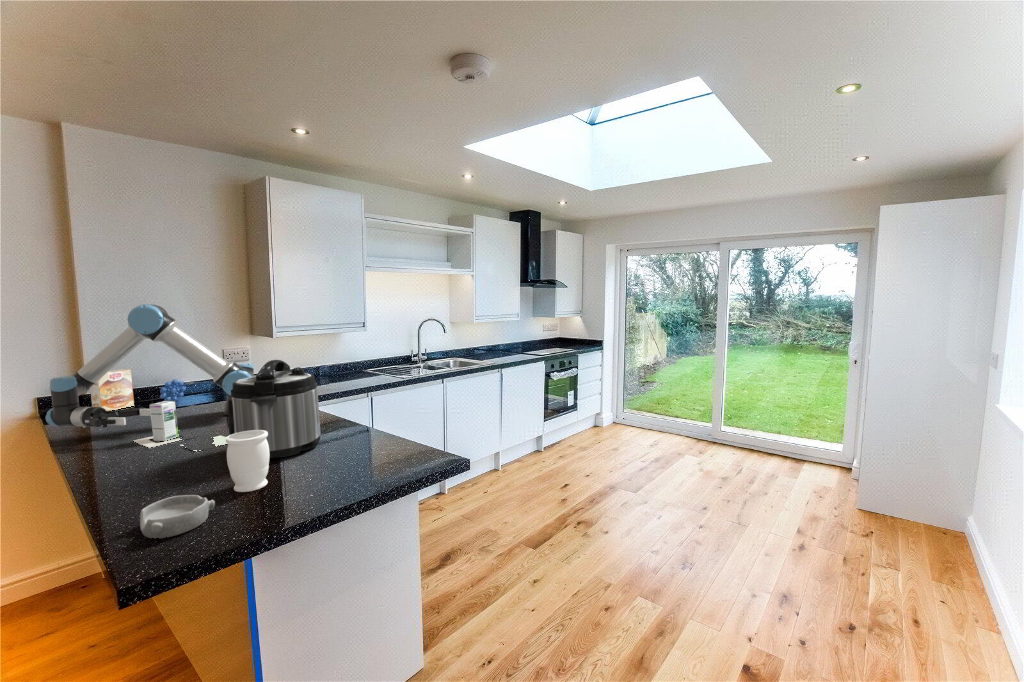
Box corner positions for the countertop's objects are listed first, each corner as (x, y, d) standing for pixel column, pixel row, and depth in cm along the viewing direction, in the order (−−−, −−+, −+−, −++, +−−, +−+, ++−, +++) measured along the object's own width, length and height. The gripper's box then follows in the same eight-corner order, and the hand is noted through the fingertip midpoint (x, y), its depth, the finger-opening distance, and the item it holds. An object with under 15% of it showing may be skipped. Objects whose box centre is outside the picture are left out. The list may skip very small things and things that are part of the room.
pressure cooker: (284, 433, 184) (278, 354, 181) (340, 440, 173) (335, 355, 170) (210, 459, 156) (202, 365, 153) (272, 468, 146) (265, 368, 143)
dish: (160, 546, 100) (158, 524, 100) (124, 534, 106) (122, 513, 106) (226, 517, 113) (224, 497, 113) (190, 507, 119) (189, 488, 119)
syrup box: (165, 441, 177) (162, 404, 175) (152, 441, 178) (149, 403, 176) (179, 437, 182) (175, 400, 181) (166, 436, 183) (163, 400, 182)
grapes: (185, 398, 257) (183, 377, 256) (187, 400, 252) (185, 378, 251) (159, 402, 249) (157, 380, 248) (161, 404, 244) (159, 381, 243)
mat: (220, 436, 182) (220, 435, 182) (238, 441, 174) (238, 440, 174) (179, 446, 171) (179, 445, 171) (196, 452, 163) (196, 451, 163)
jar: (241, 480, 136) (237, 430, 135) (277, 478, 137) (274, 428, 136) (221, 495, 126) (217, 441, 124) (261, 493, 127) (257, 439, 125)
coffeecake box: (101, 413, 226) (97, 374, 224) (92, 413, 228) (87, 373, 226) (135, 406, 240) (131, 369, 238) (125, 406, 242) (122, 368, 240)
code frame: (181, 431, 191) (181, 430, 191) (198, 437, 182) (198, 435, 182) (133, 441, 178) (132, 440, 178) (149, 448, 169) (148, 447, 169)
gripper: (120, 417, 194) (167, 417, 193) (57, 435, 170) (111, 435, 168) (118, 400, 194) (166, 399, 192) (55, 415, 169) (109, 415, 167)
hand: (140, 416), depth 180 cm, fingers open, 13 cm apart
